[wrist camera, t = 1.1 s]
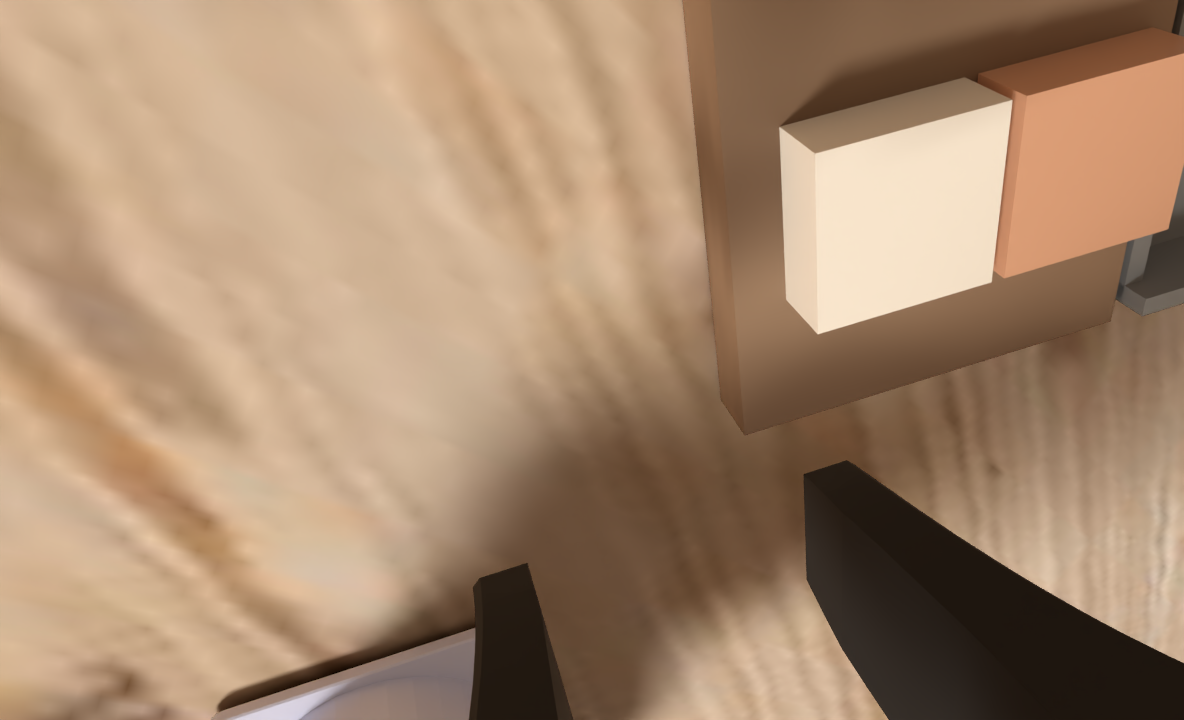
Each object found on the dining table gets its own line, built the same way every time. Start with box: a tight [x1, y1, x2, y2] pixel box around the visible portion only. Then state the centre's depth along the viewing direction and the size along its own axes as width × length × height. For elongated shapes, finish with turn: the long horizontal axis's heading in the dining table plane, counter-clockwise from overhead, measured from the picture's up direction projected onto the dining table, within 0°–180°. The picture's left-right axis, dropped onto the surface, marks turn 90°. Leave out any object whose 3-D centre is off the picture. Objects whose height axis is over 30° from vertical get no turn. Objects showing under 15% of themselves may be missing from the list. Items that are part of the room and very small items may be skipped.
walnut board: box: [683, 0, 1178, 435], centre depth 20 cm, size 11×10×2 cm
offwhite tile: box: [779, 77, 1013, 334], centre depth 18 cm, size 4×4×2 cm
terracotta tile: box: [977, 27, 1184, 278], centre depth 19 cm, size 4×4×2 cm
